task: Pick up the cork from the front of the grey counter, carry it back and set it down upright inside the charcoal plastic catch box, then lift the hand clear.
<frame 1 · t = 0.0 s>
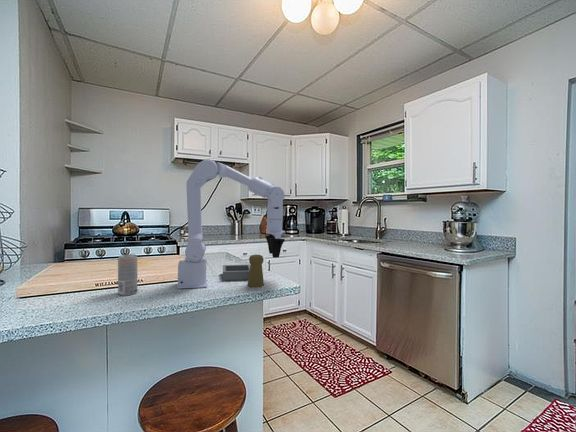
hand: (273, 255, 107), 10 cm above the table, tool pointing down, fingers open, 7 cm apart
energy drink: (127, 293, 91), on the table
cork: (255, 285, 103), on the table
catch box: (237, 276, 113), on the table
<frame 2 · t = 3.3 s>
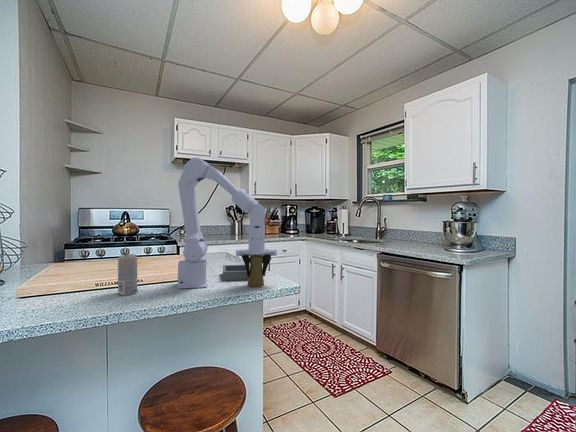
hand: (255, 275, 103), 3 cm above the table, tool pointing down, fingers closed on cork, 5 cm apart
cork: (255, 285, 103), on the table, touching gripper
everything else where it was.
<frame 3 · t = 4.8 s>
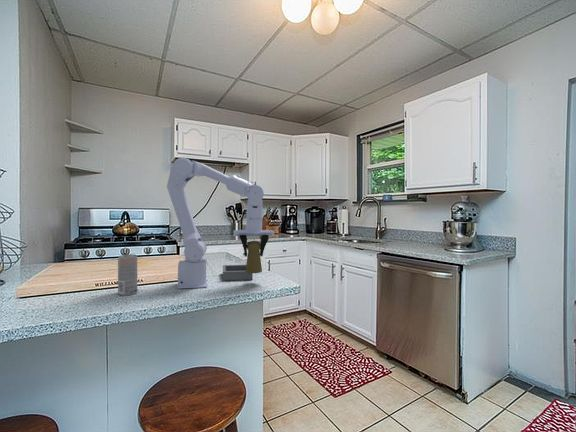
hand: (253, 255, 104), 10 cm above the table, tool pointing down, fingers closed on cork, 5 cm apart
cork: (253, 271, 104), point 4 cm above the table, touching gripper
everything else where it was.
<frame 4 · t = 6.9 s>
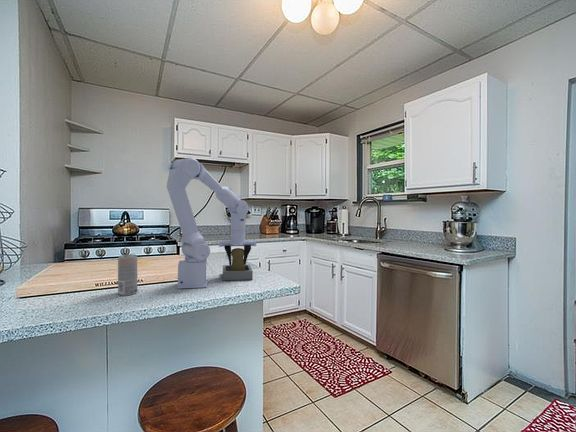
hand: (237, 264, 113), 5 cm above the table, tool pointing down, fingers closed on cork, 5 cm apart
cork: (238, 276, 112), resting on catch box, touching gripper
everything else where it was.
when the fingers open (5 cm above the table, at t = 7.8 s): cork stays where it is, resting on catch box.
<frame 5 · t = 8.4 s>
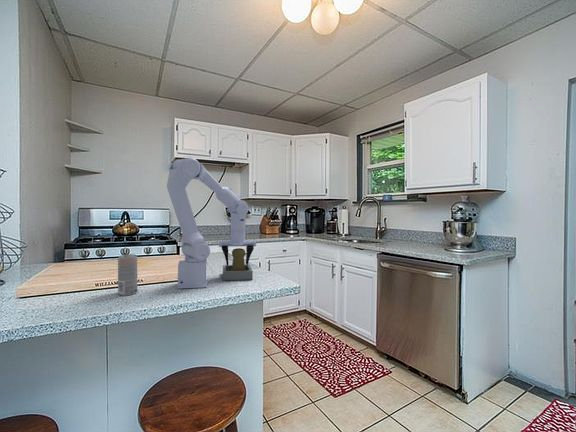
hand: (237, 264, 113), 5 cm above the table, tool pointing down, fingers open, 7 cm apart
cork: (238, 276, 112), resting on catch box
everything else where it was.
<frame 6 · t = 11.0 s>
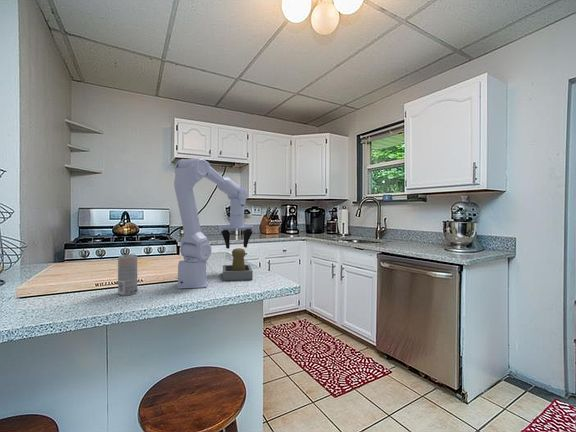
hand: (236, 247, 119), 10 cm above the table, tool pointing down, fingers open, 7 cm apart
nothing on the table moved.
at the end: cork 1.0 cm off-centre on the catch box, point 0.2 cm above the catch box's base; cork tilted 0°; the gripper is holding nothing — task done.
